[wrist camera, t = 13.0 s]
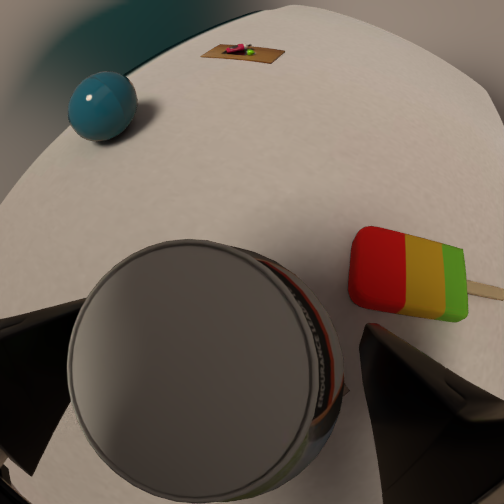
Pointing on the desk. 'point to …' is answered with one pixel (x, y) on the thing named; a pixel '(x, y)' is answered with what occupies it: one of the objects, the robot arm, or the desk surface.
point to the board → (244, 53)
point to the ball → (102, 106)
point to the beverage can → (204, 372)
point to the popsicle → (411, 276)
